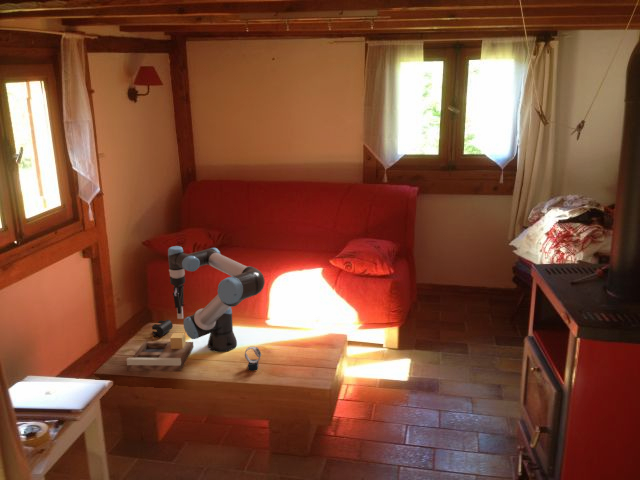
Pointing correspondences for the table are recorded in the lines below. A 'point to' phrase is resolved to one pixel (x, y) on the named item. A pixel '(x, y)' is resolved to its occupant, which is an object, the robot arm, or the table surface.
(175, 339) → the block
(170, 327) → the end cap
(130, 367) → the board
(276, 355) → the table surface
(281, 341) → the table surface
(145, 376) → the table surface
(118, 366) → the table surface
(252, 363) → the watch
